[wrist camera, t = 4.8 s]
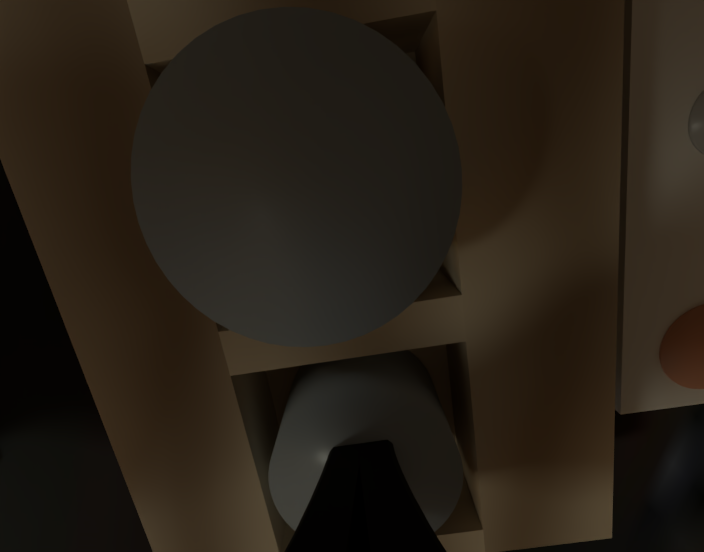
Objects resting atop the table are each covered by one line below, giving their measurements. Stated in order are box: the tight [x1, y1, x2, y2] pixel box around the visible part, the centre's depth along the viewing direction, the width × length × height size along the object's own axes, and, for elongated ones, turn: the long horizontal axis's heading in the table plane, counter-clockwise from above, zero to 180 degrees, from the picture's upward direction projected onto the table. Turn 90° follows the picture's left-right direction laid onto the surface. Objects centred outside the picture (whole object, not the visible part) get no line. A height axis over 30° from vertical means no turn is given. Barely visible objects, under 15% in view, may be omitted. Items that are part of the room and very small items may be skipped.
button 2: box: [131, 7, 462, 347], centre depth 7 cm, size 4×4×3 cm
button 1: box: [268, 350, 463, 532], centre depth 10 cm, size 4×4×3 cm
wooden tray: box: [0, 0, 625, 552], centre depth 9 cm, size 12×20×3 cm, turn 9°
